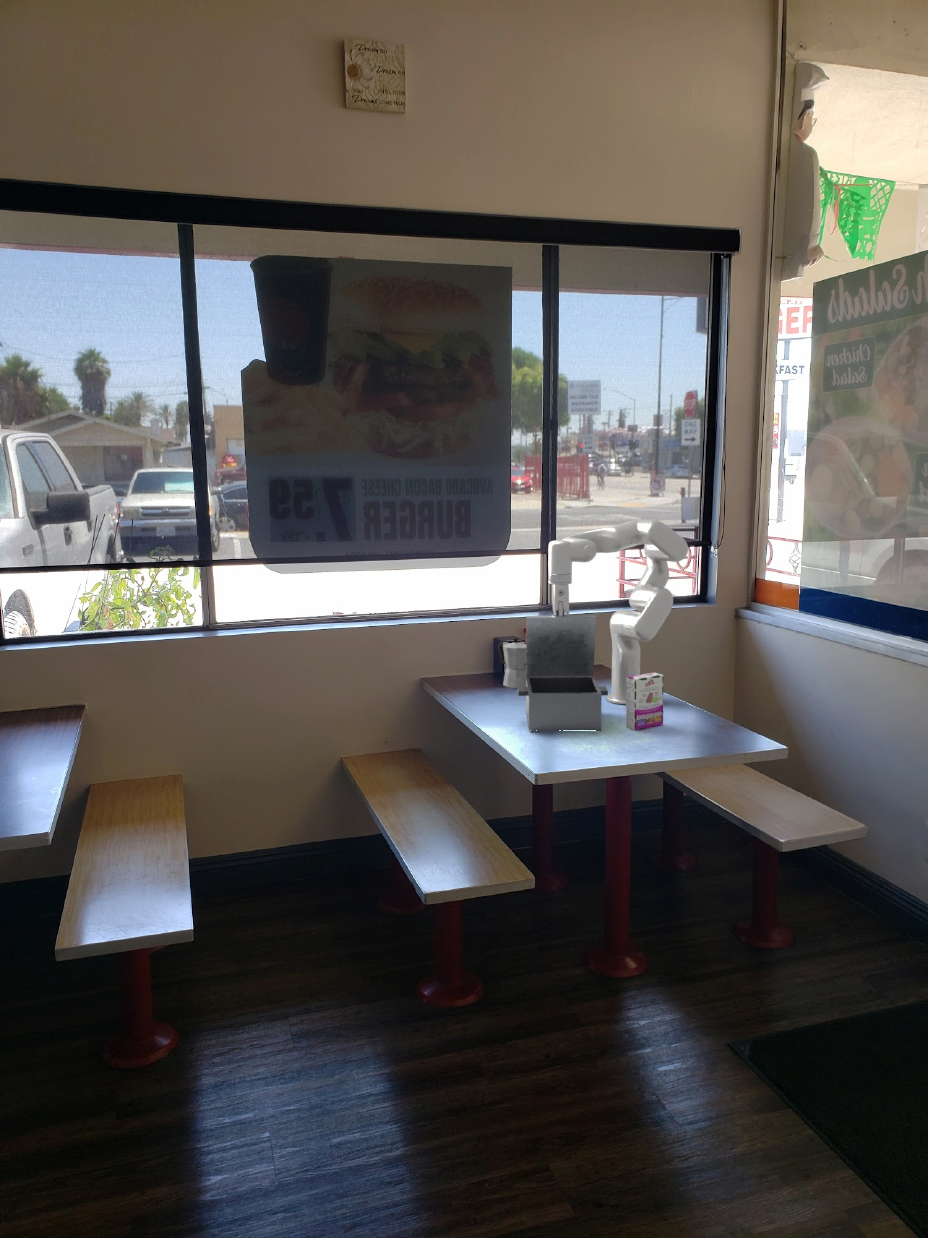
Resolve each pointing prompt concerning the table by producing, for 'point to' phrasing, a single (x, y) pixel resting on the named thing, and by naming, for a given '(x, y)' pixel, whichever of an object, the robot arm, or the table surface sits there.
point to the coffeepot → (513, 663)
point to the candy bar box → (644, 701)
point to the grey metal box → (563, 703)
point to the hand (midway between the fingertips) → (559, 634)
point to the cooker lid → (560, 645)
